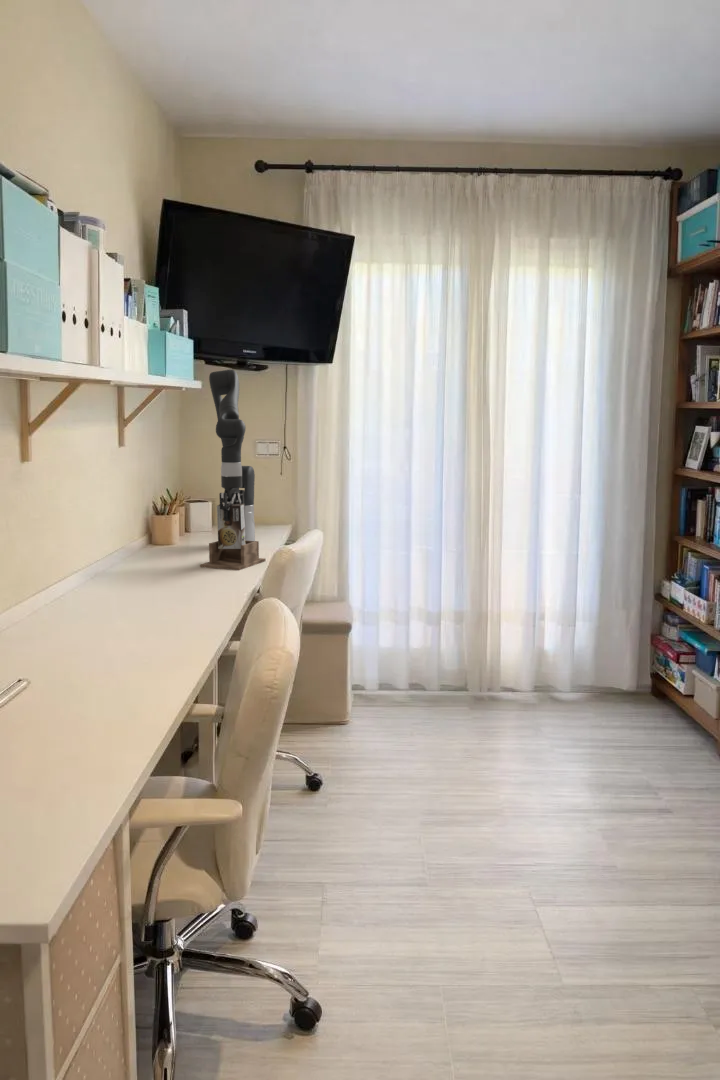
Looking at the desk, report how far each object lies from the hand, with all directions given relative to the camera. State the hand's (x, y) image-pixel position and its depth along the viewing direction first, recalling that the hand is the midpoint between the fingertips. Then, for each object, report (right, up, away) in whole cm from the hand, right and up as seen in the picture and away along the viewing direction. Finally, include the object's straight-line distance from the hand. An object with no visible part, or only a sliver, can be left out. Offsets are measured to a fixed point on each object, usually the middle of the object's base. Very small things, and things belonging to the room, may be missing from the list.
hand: (232, 519), depth 328 cm
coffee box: (0, -11, +2) cm, 11 cm away
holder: (0, -16, +2) cm, 16 cm away
